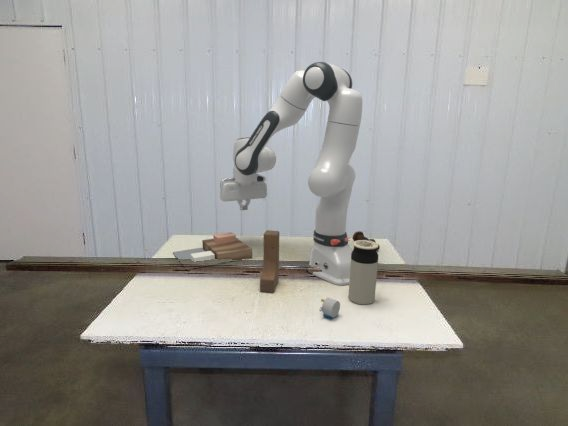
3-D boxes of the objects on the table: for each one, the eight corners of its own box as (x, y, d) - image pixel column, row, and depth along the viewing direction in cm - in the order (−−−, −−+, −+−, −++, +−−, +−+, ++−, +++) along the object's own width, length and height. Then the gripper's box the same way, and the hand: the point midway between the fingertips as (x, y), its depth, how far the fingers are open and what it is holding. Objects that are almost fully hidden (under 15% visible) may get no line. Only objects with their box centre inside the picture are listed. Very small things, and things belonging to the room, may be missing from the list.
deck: (252, 258, 146) (252, 248, 145) (218, 264, 139) (218, 254, 138) (233, 244, 162) (233, 235, 161) (202, 249, 155) (202, 240, 154)
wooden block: (273, 293, 116) (274, 239, 112) (259, 291, 117) (259, 238, 113) (278, 281, 125) (279, 230, 121) (265, 280, 126) (266, 229, 121)
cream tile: (214, 260, 140) (214, 254, 140) (194, 264, 137) (193, 258, 136) (210, 256, 145) (210, 250, 144) (190, 260, 141) (190, 253, 140)
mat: (218, 264, 138) (218, 263, 138) (186, 270, 132) (186, 269, 132) (201, 248, 155) (201, 247, 155) (172, 253, 149) (172, 252, 149)
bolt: (374, 256, 156) (355, 244, 169) (383, 249, 157) (363, 238, 170) (370, 246, 153) (350, 234, 167) (379, 239, 154) (359, 228, 168)
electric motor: (327, 307, 108) (328, 292, 107) (341, 313, 105) (342, 297, 104) (314, 316, 103) (314, 300, 101) (328, 322, 100) (329, 306, 99)
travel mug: (355, 306, 109) (359, 249, 105) (344, 294, 116) (347, 240, 112) (379, 303, 111) (384, 247, 107) (366, 292, 118) (371, 238, 114)
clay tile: (236, 241, 153) (235, 235, 153) (217, 243, 149) (217, 238, 149) (231, 237, 158) (231, 232, 157) (213, 240, 154) (213, 234, 153)
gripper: (222, 179, 144) (223, 214, 147) (269, 177, 154) (268, 209, 157) (217, 177, 149) (217, 210, 153) (262, 175, 159) (261, 206, 163)
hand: (243, 209), depth 155 cm, fingers closed
